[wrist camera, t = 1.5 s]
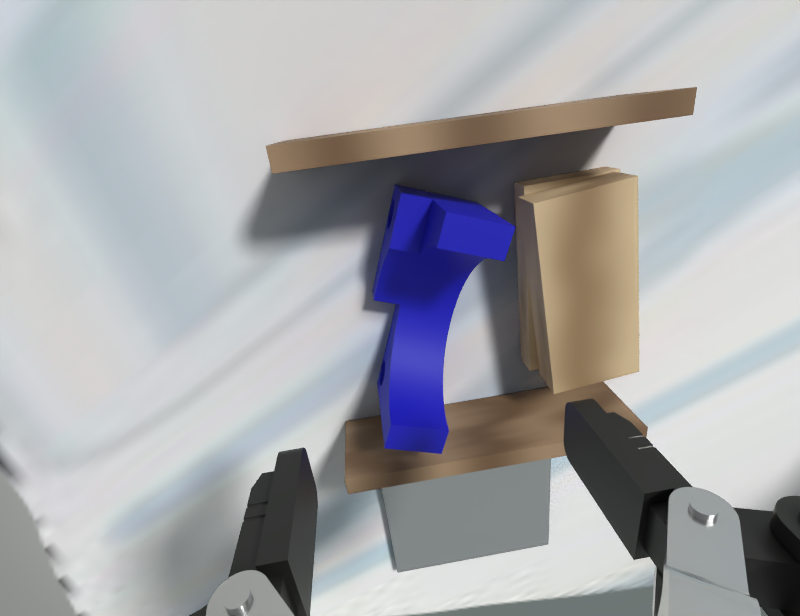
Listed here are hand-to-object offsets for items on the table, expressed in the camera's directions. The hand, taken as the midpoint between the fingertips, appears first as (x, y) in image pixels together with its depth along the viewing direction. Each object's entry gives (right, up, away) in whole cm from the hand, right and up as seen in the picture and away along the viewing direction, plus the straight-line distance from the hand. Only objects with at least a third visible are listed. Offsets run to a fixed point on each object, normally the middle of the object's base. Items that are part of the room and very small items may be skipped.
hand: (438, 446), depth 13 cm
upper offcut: (+9, +6, +11) cm, 15 cm away
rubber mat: (+4, -10, +19) cm, 21 cm away
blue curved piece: (-1, +5, +12) cm, 13 cm away
